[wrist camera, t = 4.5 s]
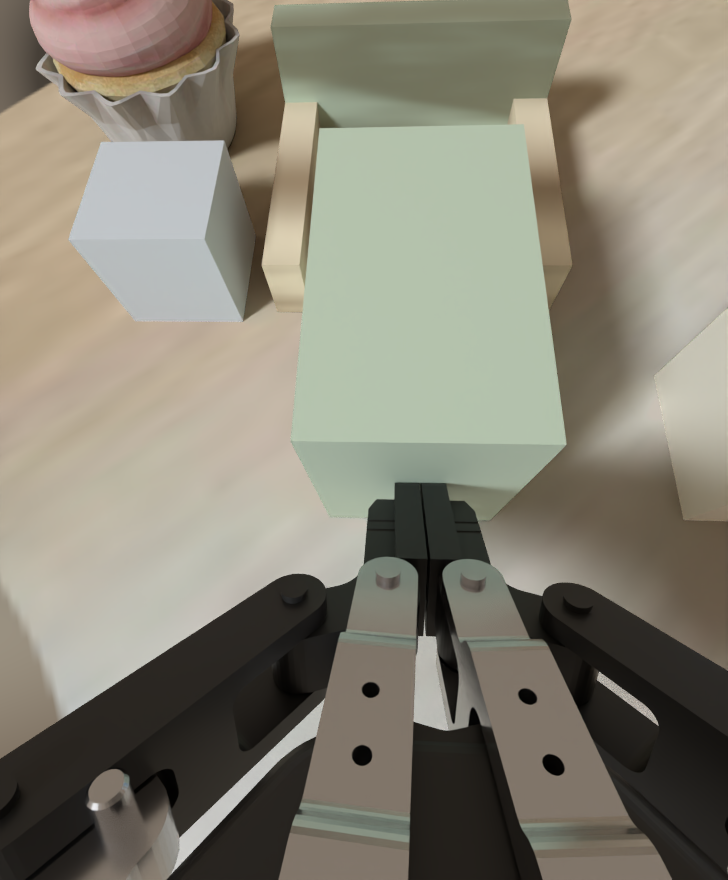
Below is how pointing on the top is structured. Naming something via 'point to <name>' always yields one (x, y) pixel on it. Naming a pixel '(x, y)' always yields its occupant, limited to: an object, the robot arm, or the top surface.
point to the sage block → (424, 319)
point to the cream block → (699, 422)
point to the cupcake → (143, 65)
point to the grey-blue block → (168, 230)
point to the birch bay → (411, 101)
